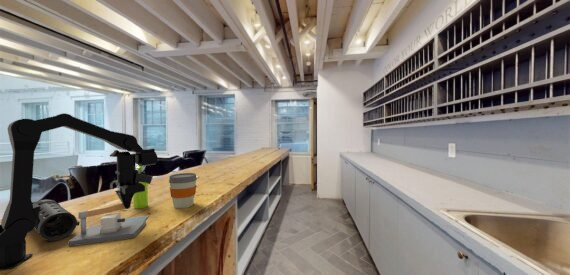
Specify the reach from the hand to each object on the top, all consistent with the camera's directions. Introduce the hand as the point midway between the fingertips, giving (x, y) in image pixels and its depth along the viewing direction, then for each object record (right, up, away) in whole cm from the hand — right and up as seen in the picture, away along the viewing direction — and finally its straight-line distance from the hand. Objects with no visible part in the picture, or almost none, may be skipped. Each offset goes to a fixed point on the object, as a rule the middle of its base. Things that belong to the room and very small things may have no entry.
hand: (127, 208), depth 83 cm
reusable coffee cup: (+10, -7, +26) cm, 28 cm away
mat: (-1, -7, +6) cm, 9 cm away
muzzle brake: (-24, -4, +3) cm, 25 cm away
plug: (-2, -7, -6) cm, 9 cm away
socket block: (-2, -7, -6) cm, 9 cm away
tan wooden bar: (-5, 0, -3) cm, 6 cm away
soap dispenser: (-11, -7, +24) cm, 27 cm away
